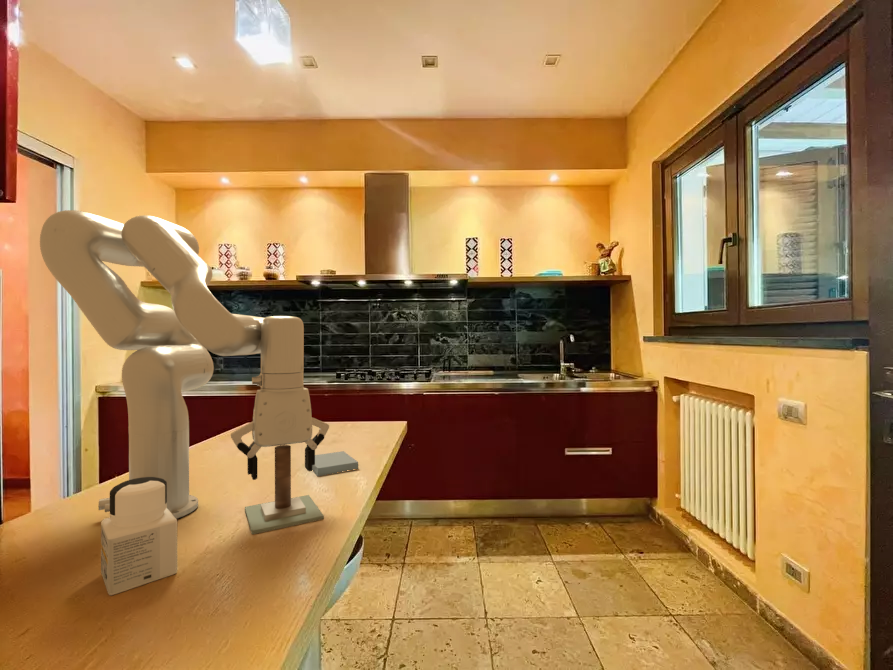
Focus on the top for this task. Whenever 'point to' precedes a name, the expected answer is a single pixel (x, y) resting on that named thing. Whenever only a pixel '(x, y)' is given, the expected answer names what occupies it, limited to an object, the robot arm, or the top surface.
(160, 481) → the container
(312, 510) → the mat
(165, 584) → the top surface
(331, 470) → the tile
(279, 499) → the brown upright post
